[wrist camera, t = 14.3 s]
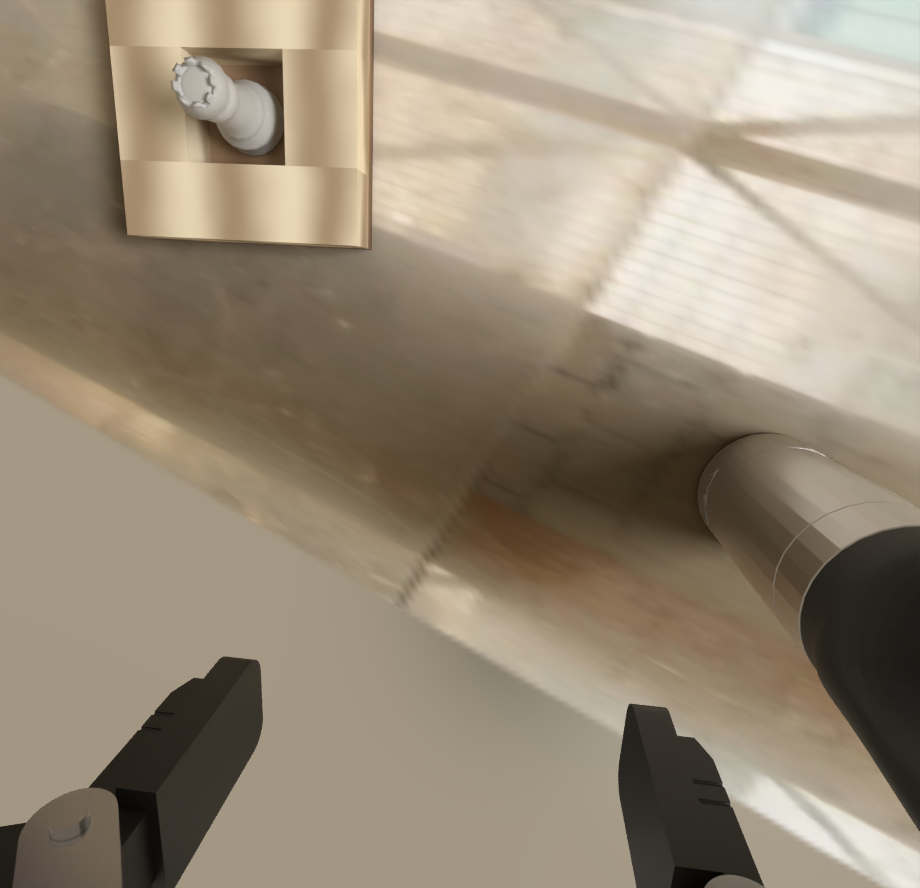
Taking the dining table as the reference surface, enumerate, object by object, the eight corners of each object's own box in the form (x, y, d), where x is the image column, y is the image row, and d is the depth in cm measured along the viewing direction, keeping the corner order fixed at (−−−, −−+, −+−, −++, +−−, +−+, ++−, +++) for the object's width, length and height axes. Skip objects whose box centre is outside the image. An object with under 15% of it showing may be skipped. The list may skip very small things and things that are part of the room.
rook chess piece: (224, 154, 41) (154, 123, 33) (224, 82, 39) (152, 32, 32) (286, 160, 40) (230, 130, 33) (288, 88, 39) (231, 39, 31)
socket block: (374, -9, 38) (357, -42, 34) (371, 249, 42) (356, 245, 38) (142, -11, 39) (101, -43, 36) (162, 239, 44) (127, 234, 40)
